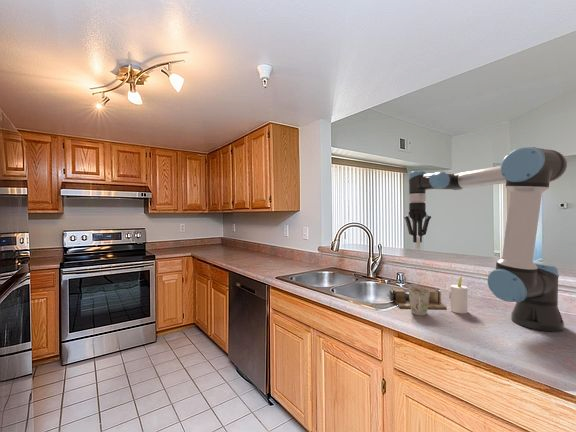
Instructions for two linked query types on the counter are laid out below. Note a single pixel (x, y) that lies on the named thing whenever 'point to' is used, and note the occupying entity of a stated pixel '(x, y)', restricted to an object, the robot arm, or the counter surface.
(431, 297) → the brown board
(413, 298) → the mug
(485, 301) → the counter surface
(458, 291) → the candle
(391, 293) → the pin
